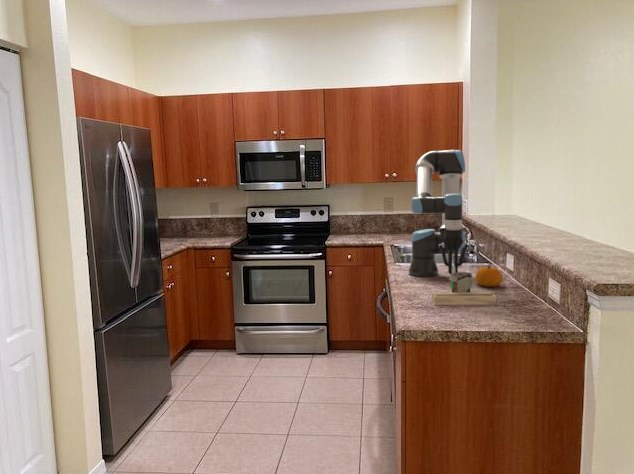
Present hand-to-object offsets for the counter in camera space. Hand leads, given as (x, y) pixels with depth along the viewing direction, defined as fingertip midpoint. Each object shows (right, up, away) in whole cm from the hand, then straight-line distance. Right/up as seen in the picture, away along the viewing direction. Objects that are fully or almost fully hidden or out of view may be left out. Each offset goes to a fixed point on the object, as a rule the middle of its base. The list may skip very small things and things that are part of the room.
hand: (452, 280), depth 215 cm
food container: (-1, -6, -12) cm, 13 cm away
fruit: (+19, -3, +7) cm, 20 cm away
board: (-2, -7, -21) cm, 22 cm away
